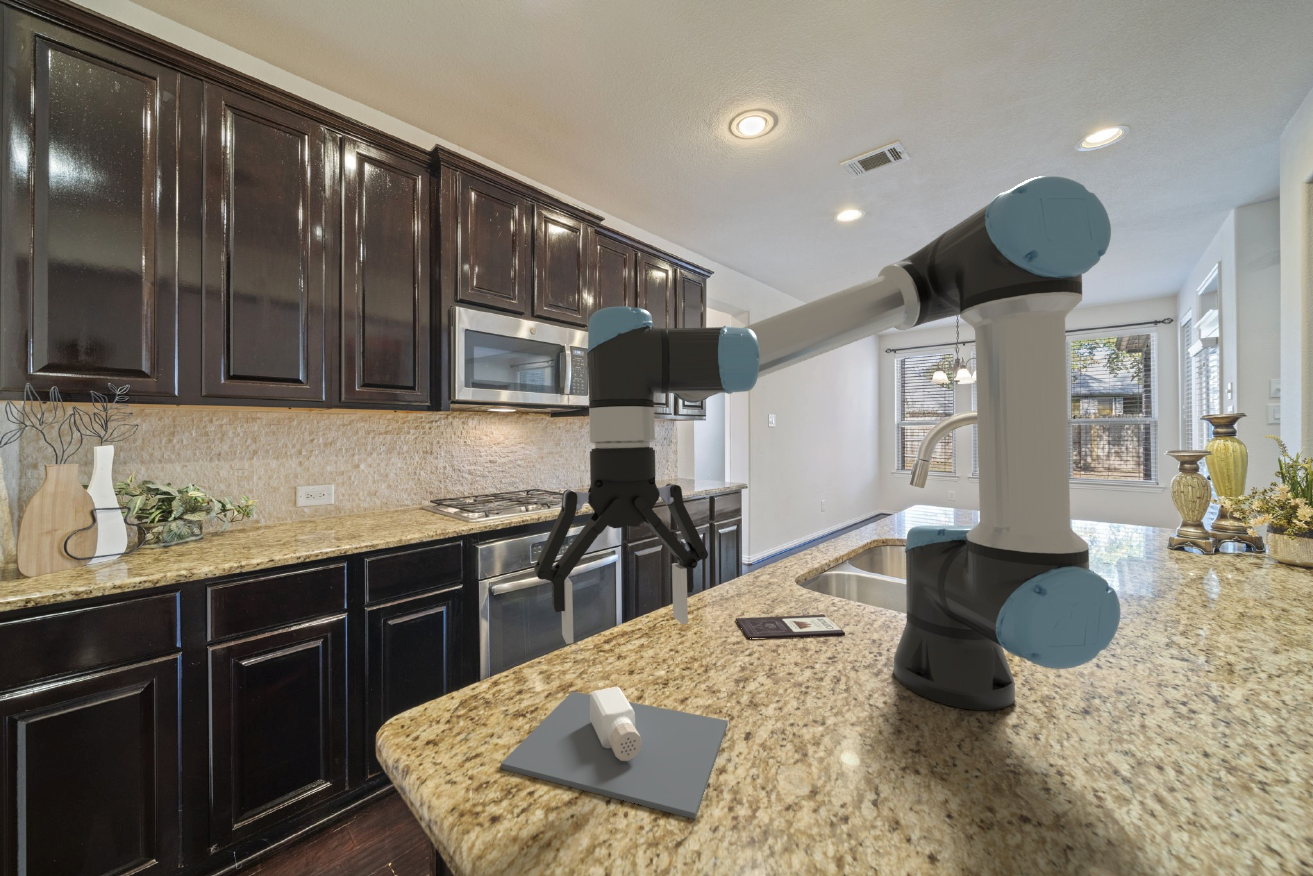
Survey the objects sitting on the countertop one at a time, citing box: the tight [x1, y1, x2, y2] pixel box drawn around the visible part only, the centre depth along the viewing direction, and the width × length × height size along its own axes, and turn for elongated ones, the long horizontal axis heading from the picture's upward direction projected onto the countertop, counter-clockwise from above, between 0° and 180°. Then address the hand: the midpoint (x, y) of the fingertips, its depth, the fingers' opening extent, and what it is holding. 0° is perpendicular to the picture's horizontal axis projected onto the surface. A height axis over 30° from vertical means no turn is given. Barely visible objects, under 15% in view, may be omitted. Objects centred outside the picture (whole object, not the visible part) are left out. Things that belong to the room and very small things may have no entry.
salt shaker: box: [590, 686, 642, 761], centre depth 58 cm, size 4×4×10 cm
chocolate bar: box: [735, 614, 846, 639], centre depth 93 cm, size 9×1×18 cm
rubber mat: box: [500, 690, 729, 820], centre depth 58 cm, size 22×16×1 cm
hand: (626, 629), depth 57 cm, fingers open, 13 cm apart
